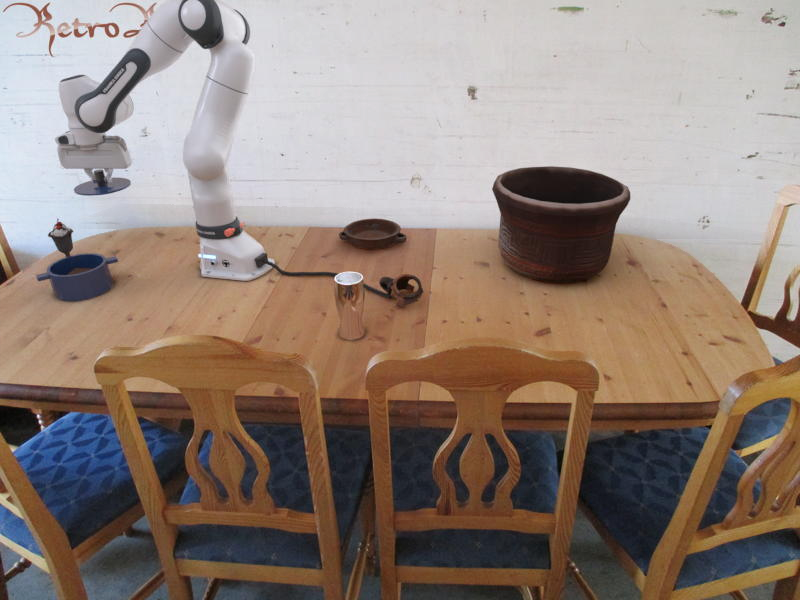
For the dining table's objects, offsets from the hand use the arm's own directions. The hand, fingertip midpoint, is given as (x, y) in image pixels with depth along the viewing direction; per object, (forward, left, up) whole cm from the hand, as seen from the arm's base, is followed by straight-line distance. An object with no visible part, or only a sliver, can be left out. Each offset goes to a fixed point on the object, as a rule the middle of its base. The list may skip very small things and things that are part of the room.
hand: (102, 182), depth 171 cm
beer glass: (-91, +14, -23) cm, 94 cm away
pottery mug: (-95, -6, -23) cm, 98 cm away
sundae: (+7, +13, -23) cm, 27 cm away
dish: (-71, -37, -23) cm, 83 cm away
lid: (0, 0, -1) cm, 1 cm away
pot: (-11, +23, -23) cm, 34 cm away
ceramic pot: (-127, -42, -23) cm, 135 cm away
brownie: (-11, +23, -22) cm, 33 cm away
